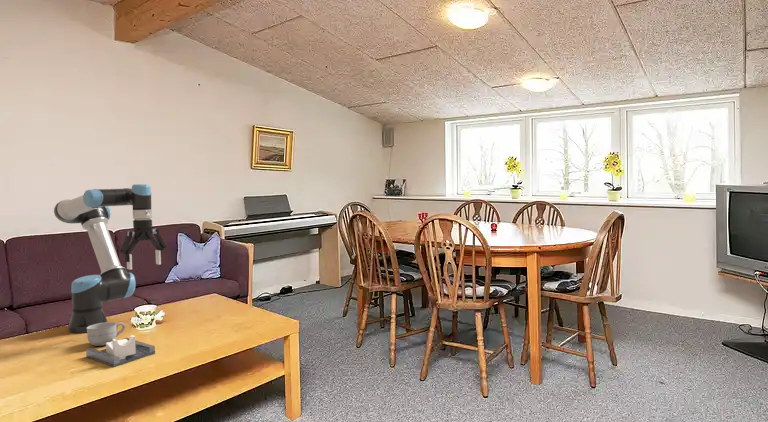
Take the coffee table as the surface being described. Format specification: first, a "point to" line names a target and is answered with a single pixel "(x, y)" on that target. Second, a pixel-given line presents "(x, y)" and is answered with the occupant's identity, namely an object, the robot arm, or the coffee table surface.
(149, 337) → the coffee table surface
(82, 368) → the coffee table surface
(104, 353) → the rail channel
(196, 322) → the coffee table surface
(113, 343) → the bracket
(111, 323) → the teacup
